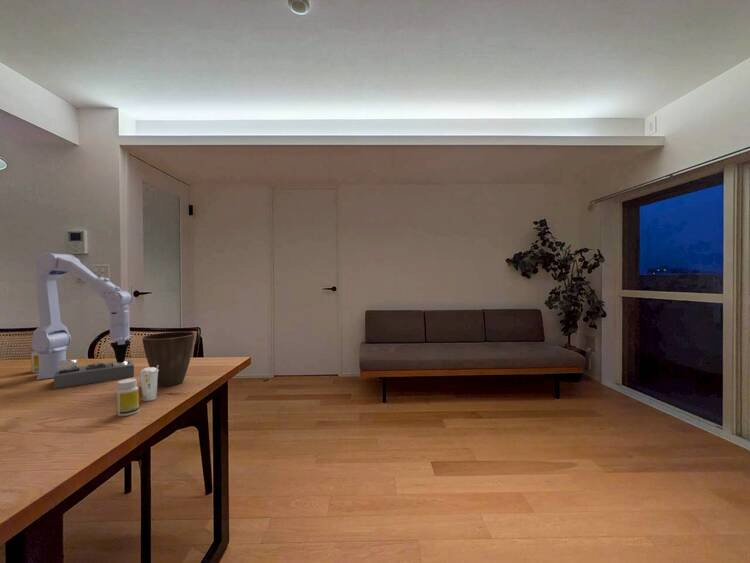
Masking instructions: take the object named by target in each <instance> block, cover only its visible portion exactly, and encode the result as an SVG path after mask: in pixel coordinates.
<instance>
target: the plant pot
mask: <svg viewBox="0 0 750 563" xmlns="http://www.w3.org/2000/svg"><path fill="white" fill-rule="evenodd" d="M141 339H142V345H143V349H144V354H145V357H146V361H147V365H148V366H149V367H155V368H157V366H158V365H159V366H158V381H157V387H171V386H177V385H179V384H182V383H183V382H184V380H185V379H186V378H185V377H186V376H187V371H188V367H189V364H190V361H191V359H192V358H191V357H192V351H193V347H194V341H195V332H193V331H171V332H160V333H154V334H148V335H144V336H142V337H141Z"/></svg>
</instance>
